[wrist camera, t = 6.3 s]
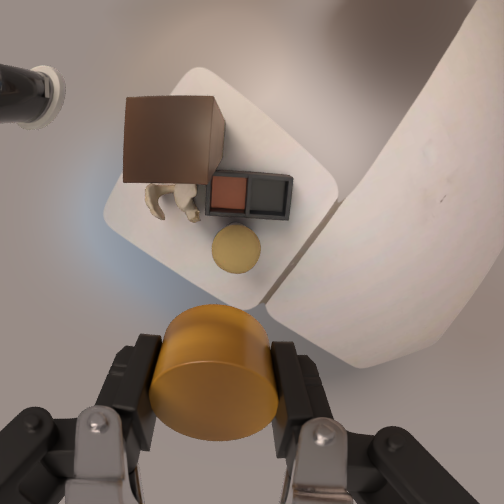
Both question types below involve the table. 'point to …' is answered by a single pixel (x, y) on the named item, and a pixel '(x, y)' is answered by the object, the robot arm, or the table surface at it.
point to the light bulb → (236, 248)
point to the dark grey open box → (249, 195)
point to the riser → (172, 139)
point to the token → (214, 375)
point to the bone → (182, 199)
